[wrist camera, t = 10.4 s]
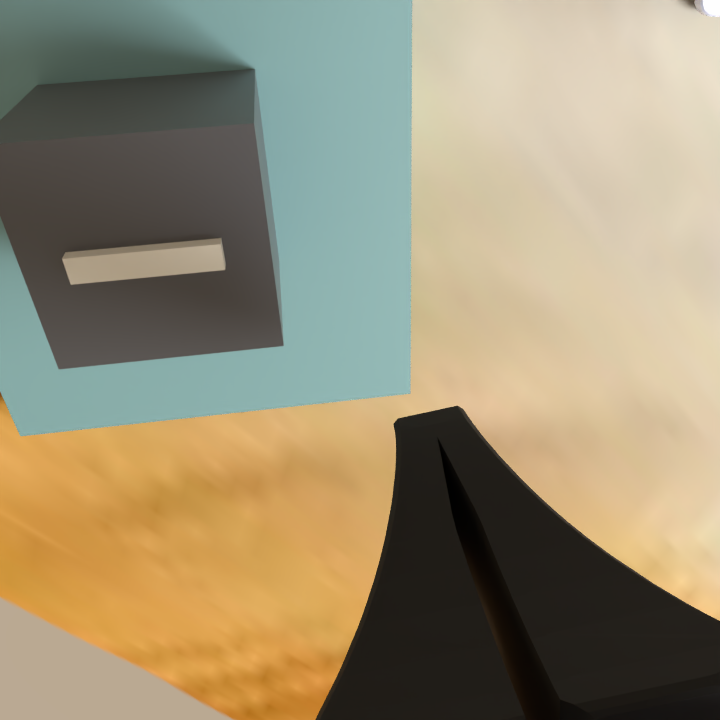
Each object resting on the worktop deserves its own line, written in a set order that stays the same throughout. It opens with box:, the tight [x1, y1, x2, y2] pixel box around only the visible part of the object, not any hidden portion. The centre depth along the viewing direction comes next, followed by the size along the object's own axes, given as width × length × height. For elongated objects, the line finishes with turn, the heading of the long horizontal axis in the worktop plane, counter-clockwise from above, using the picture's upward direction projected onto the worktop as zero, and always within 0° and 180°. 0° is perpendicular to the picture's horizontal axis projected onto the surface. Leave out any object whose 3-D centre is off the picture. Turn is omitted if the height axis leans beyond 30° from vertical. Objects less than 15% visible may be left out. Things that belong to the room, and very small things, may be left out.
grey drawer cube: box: [0, 69, 284, 369], centre depth 16 cm, size 5×5×5 cm
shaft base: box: [0, 0, 412, 436], centre depth 17 cm, size 13×16×4 cm
